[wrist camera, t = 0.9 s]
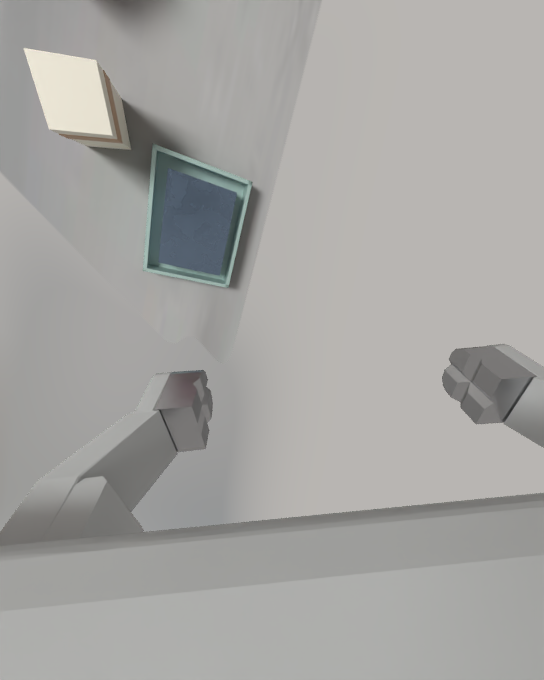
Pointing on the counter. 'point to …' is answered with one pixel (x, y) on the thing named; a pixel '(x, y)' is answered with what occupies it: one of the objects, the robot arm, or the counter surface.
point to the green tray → (156, 200)
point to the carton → (79, 99)
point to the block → (195, 223)
